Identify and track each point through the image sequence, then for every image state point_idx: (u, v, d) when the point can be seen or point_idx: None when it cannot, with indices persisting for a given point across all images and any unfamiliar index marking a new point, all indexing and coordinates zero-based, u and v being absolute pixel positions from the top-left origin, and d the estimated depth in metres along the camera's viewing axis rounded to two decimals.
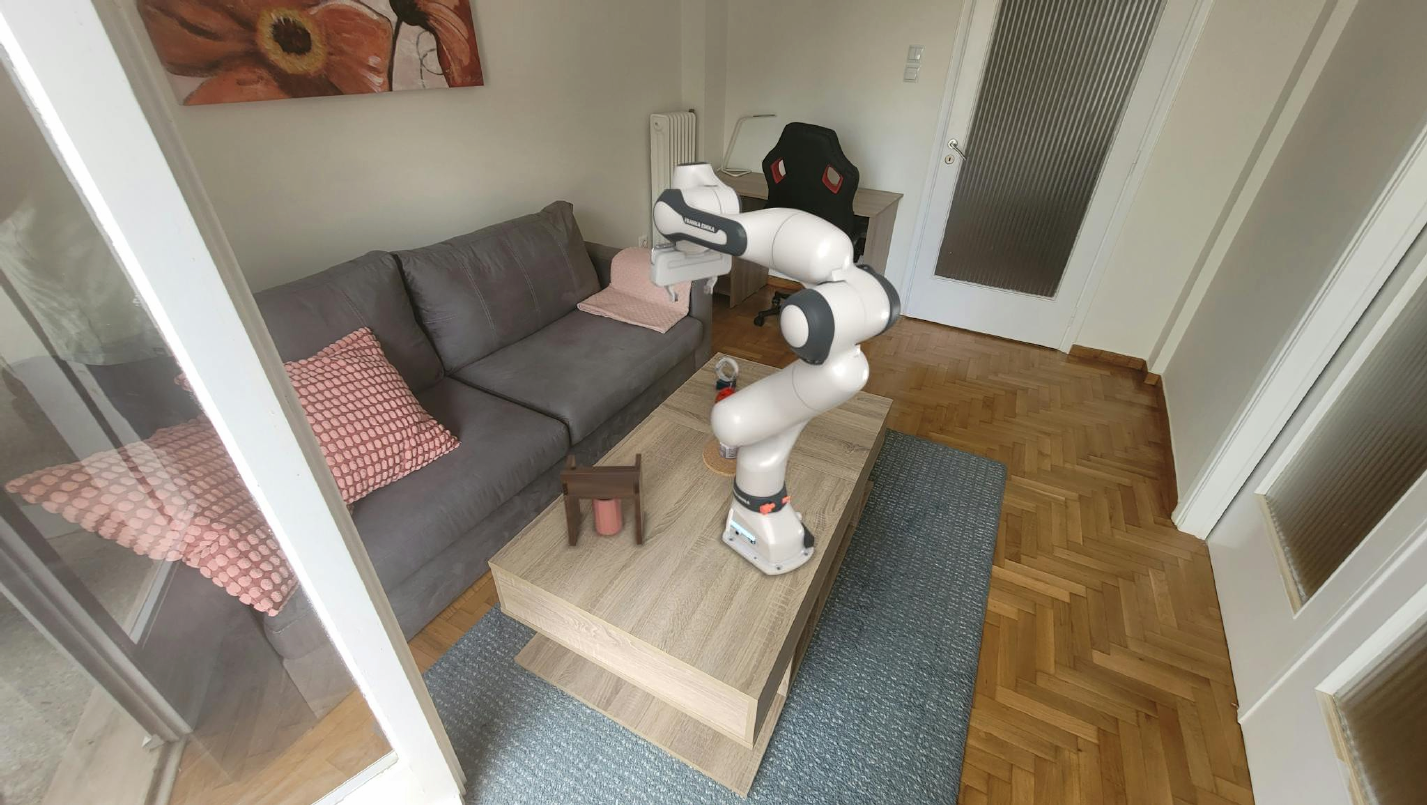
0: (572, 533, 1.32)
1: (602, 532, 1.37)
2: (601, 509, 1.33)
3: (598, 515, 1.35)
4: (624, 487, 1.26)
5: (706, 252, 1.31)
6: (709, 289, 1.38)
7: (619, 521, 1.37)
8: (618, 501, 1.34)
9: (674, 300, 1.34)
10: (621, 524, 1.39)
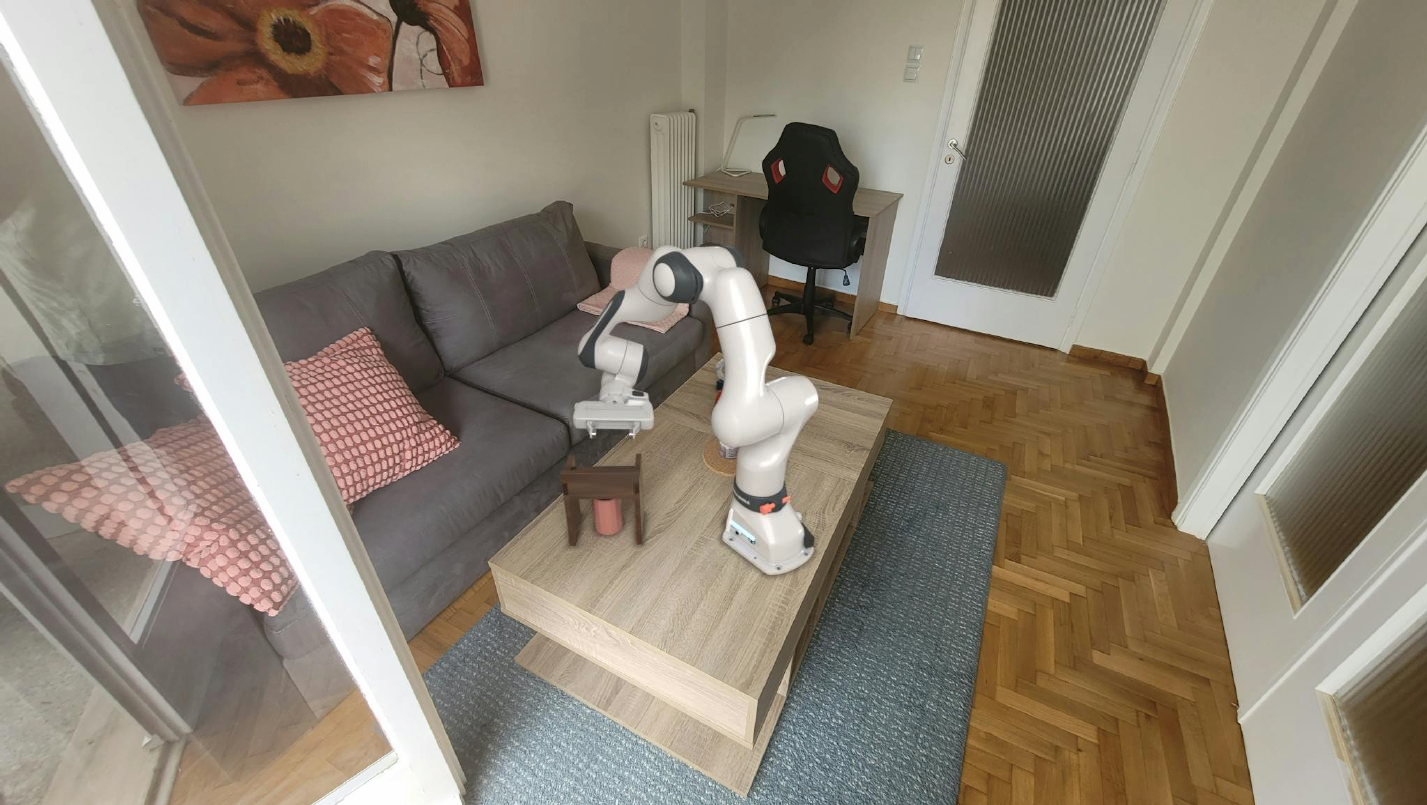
0: (572, 533, 1.32)
1: (602, 532, 1.37)
2: (601, 509, 1.33)
3: (598, 515, 1.35)
4: (624, 487, 1.26)
5: (625, 403, 1.51)
6: (631, 430, 1.44)
7: (619, 521, 1.37)
8: (618, 501, 1.34)
9: (591, 432, 1.43)
10: (621, 524, 1.39)
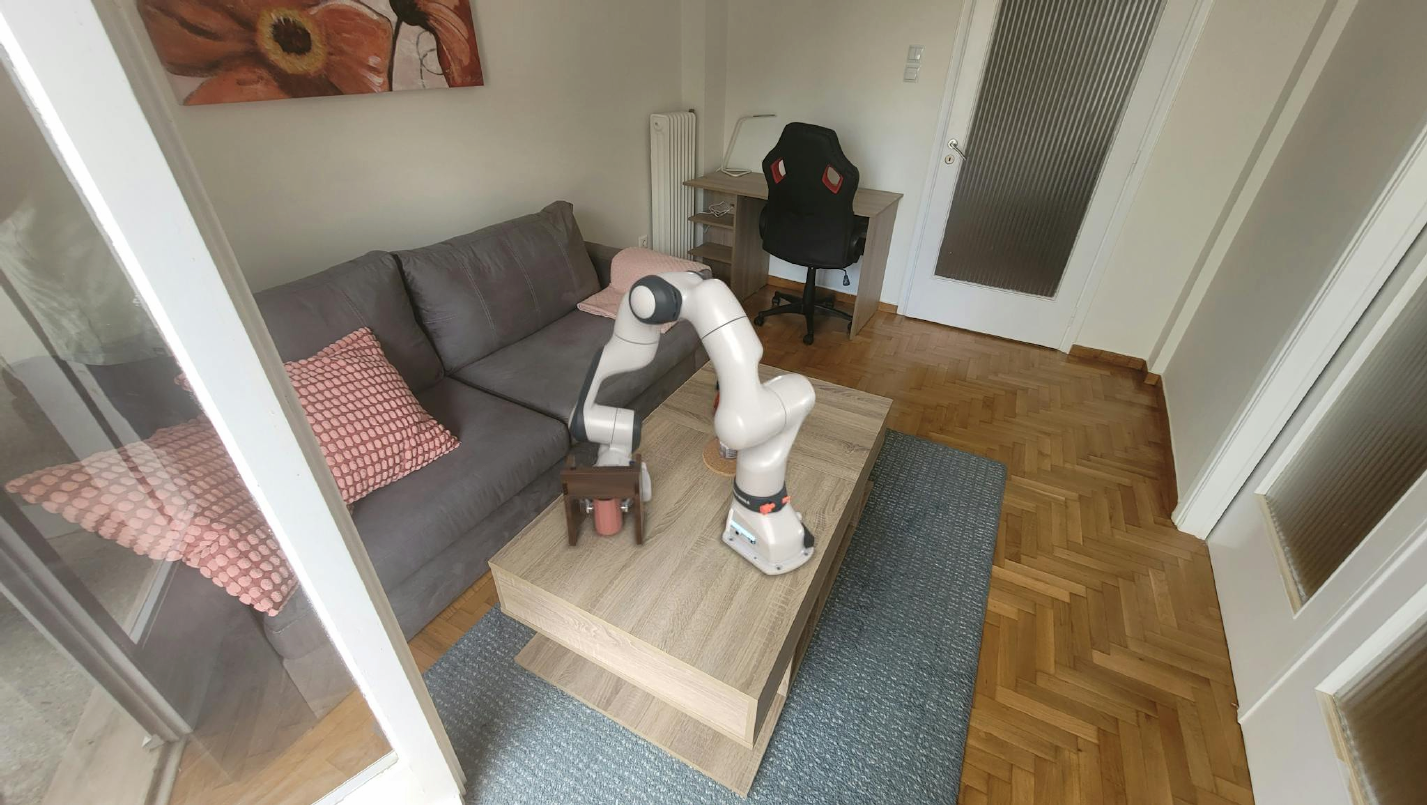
0: (572, 533, 1.32)
1: (602, 532, 1.37)
2: (600, 509, 1.33)
3: (598, 515, 1.35)
4: (624, 487, 1.26)
5: None
6: (623, 503, 1.37)
7: (619, 521, 1.37)
8: (618, 501, 1.34)
9: (588, 506, 1.36)
10: (621, 524, 1.39)
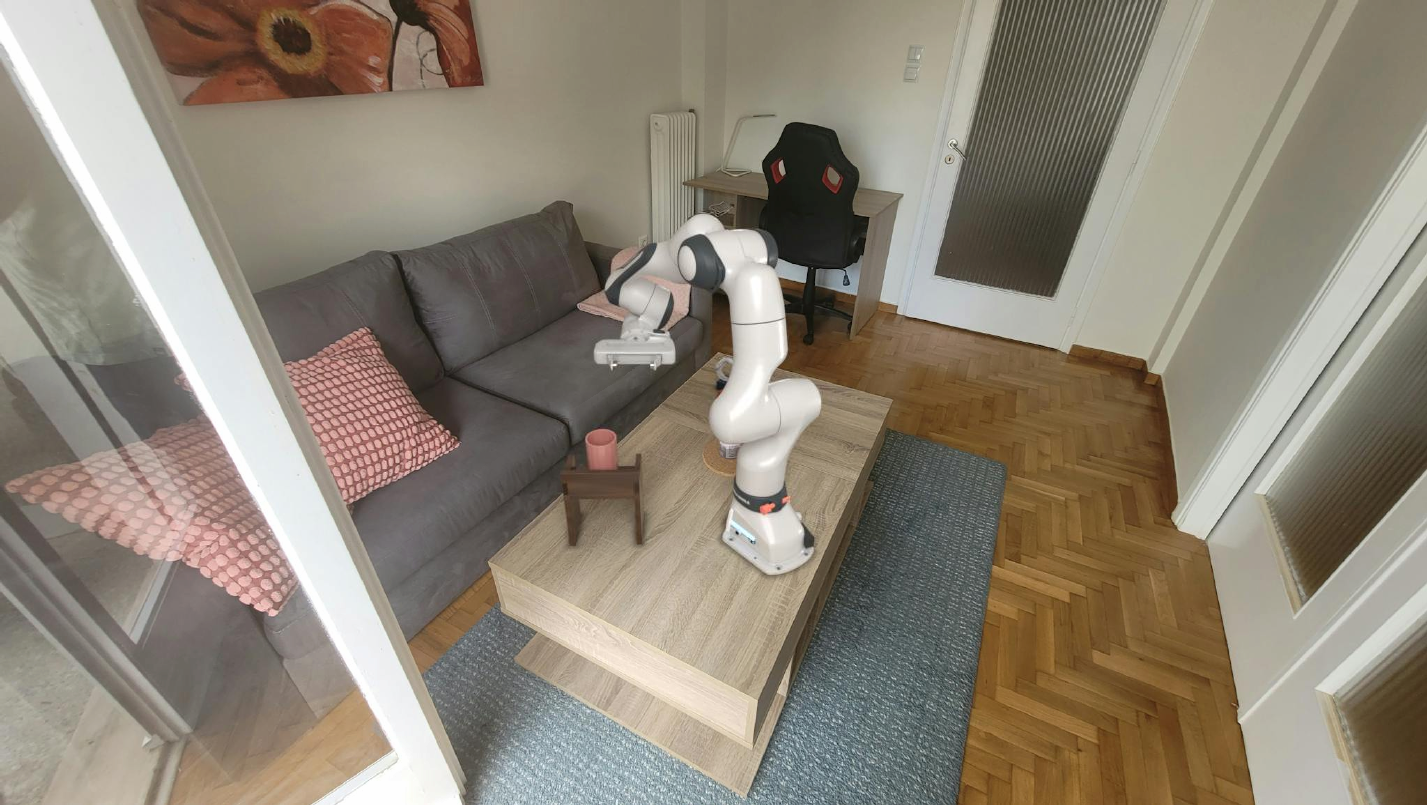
0: (572, 533, 1.32)
1: None
2: (595, 455, 1.25)
3: (592, 463, 1.27)
4: (624, 487, 1.26)
5: (646, 340, 1.49)
6: (652, 361, 1.42)
7: None
8: (614, 448, 1.26)
9: (612, 363, 1.40)
10: None
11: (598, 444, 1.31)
